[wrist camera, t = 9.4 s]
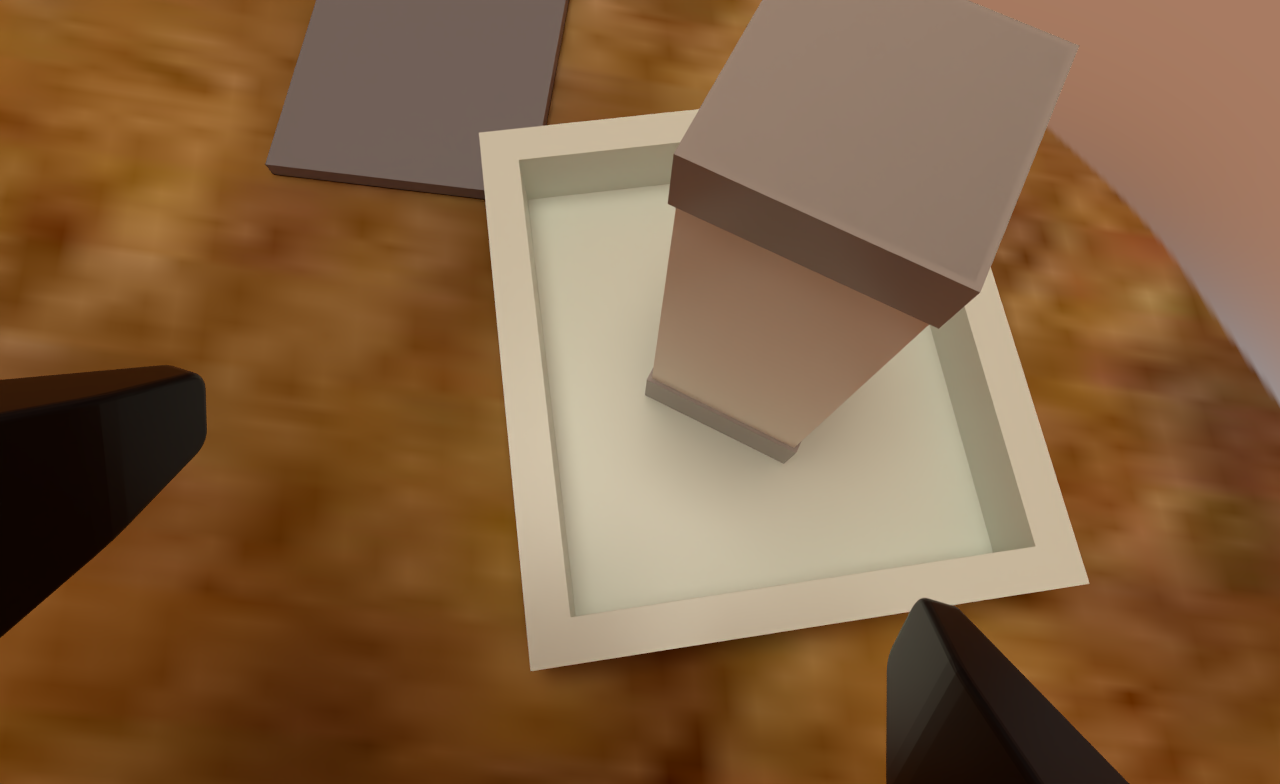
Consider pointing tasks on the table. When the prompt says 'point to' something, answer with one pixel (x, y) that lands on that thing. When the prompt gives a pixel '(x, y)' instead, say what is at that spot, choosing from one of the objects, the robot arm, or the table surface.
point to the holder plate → (415, 89)
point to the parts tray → (719, 465)
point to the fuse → (841, 201)
